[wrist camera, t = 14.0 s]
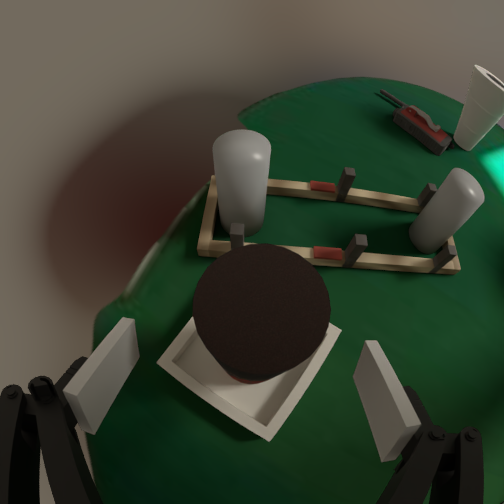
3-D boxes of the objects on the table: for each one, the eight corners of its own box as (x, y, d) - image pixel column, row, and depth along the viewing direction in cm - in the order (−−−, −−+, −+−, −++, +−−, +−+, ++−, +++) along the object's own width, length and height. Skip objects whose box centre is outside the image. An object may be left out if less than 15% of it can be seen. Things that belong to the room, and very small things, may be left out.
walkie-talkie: (454, 148, 44) (381, 94, 51) (463, 133, 40) (386, 78, 47) (441, 162, 41) (360, 101, 48) (452, 146, 37) (366, 84, 44)
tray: (235, 273, 30) (234, 263, 28) (334, 335, 27) (341, 330, 25) (163, 365, 25) (156, 362, 23) (267, 437, 22) (269, 441, 20)
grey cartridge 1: (237, 195, 35) (235, 123, 25) (271, 214, 33) (281, 143, 24) (211, 223, 33) (200, 152, 23) (247, 245, 31) (249, 175, 22)
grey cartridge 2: (413, 215, 34) (452, 161, 25) (440, 234, 33) (484, 185, 23) (404, 241, 32) (449, 186, 23) (434, 261, 31) (484, 212, 21)
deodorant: (206, 359, 25) (164, 318, 11) (244, 310, 27) (246, 222, 14) (259, 396, 23) (282, 402, 10) (295, 344, 26) (352, 287, 12)
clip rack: (437, 210, 35) (453, 189, 31) (454, 274, 30) (476, 257, 26) (213, 183, 36) (209, 154, 31) (198, 255, 31) (191, 231, 26)
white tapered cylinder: (435, 122, 47) (464, 58, 31) (466, 132, 48) (496, 75, 32) (456, 156, 42) (496, 87, 26) (487, 164, 43) (525, 106, 27)
